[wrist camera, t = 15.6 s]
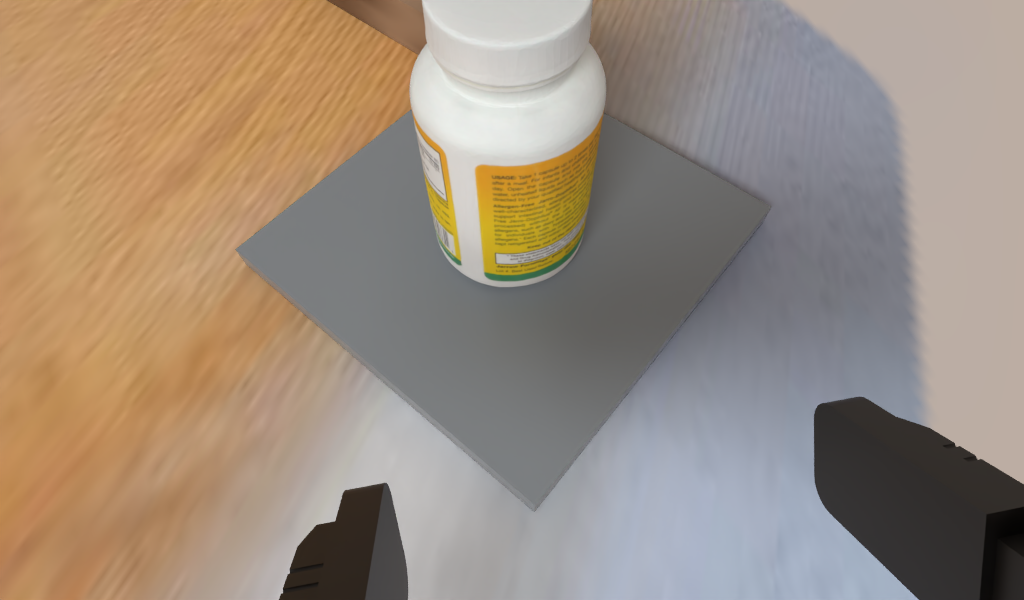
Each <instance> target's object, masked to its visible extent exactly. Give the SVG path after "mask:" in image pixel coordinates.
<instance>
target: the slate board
mask: <svg viewBox="0 0 1024 600" xmlns="http://www.w3.org/2000/svg"><path fill="white" fill-rule="evenodd" d="M770 208H771V206H769V205H767V204H766V203H764V202H762V201H760V200H759V199H757V198H755V197H753V196H751V195H750V194H748V193H746V192H744V191H742V190H741V189H739V188H737V187H735V186H734V185H732V184H730V183H728V182H726V181H725V180H723V179H721V178H719V177H718V176H716V175H714V174H712V173H710V172H709V171H707V170H705V169H703V168H702V167H700V166H698V165H696V164H694V163H693V162H691V161H689V160H687V159H686V158H684V157H682V156H680V155H678V154H677V153H675V152H673V151H671V150H670V149H668V148H666V147H664V146H662V145H661V144H659V143H657V142H655V141H653V140H652V139H650V138H648V137H646V136H645V135H643V134H641V133H639V132H637V131H636V130H634V129H632V128H630V127H629V126H627V125H625V124H623V123H621V122H620V121H618V120H616V119H614V118H613V117H611V116H609V115H607V114H605V113H603V119H602V126H601V132H600V138H599V144H598V150H597V157H596V162H595V168H594V175H593V181H592V187H591V194H590V200H589V206H588V212H587V216H586V223H585V228H584V233H583V238H582V241H581V244H580V246H579V249H578V250H577V252H576V254H575V256H574V257H573V258H572V260H571V261H570V262H569V263H568V264H567V265H566V266H565V267H564V268H563V269H562V270H560V271H559V272H558V273H556V274H555V275H554V276H552V277H550V278H548V279H546V280H543V281H540V282H538V283H534V284H530V285H525V286H517V287H495V286H490V285H486V284H483V283H479V282H477V281H475V280H473V279H471V278H469V277H467V276H465V275H464V274H462V273H461V272H460V271H459V270H457V269H456V268H455V267H454V266H453V265H452V264H451V263H450V262H449V261H448V259H447V258H446V256H445V255H444V253H443V251H442V249H441V247H440V245H439V242H438V239H437V235H436V231H435V226H434V222H433V217H432V211H431V207H430V202H429V196H428V191H427V186H426V181H425V175H424V170H423V165H422V160H421V156H420V151H419V145H418V140H417V134H416V130H415V124H414V119H413V114H412V109H411V110H410V111H409V112H407V113H406V114H405V115H404V116H402V117H401V118H400V119H399V120H397V121H396V122H395V123H394V124H392V125H391V126H390V127H389V128H387V129H386V130H385V131H384V132H382V133H381V134H380V135H378V136H377V137H376V138H375V139H373V140H372V141H371V142H370V143H368V144H367V145H366V146H365V147H363V148H362V149H361V150H360V151H358V152H357V153H356V154H355V155H353V156H352V157H351V158H350V159H348V160H347V161H346V162H345V163H343V164H342V165H341V166H340V167H338V168H337V169H336V170H335V171H333V172H332V173H331V174H330V175H328V176H327V177H326V178H325V179H323V180H322V181H321V182H320V183H318V184H317V185H316V186H315V187H313V188H312V189H311V190H309V191H308V192H307V193H306V194H304V195H303V196H302V197H301V198H299V199H298V200H297V201H296V202H294V203H293V204H292V205H291V206H289V207H288V208H287V209H286V210H284V211H283V212H282V213H281V214H279V215H278V216H277V217H276V218H274V219H273V220H272V221H271V222H269V223H268V224H267V225H266V226H264V227H263V228H262V229H261V230H259V231H258V232H257V233H256V234H254V235H253V236H252V237H251V238H249V239H248V240H247V241H246V242H244V243H243V244H242V245H240V246H239V247H238V248H237V249H235V250H236V251H237V252H238V254H239V255H240V257H241V258H242V259H243V261H244V262H245V263H246V265H248V266H249V267H250V268H251V269H252V270H253V271H255V272H256V273H257V274H258V275H259V276H260V277H262V278H263V279H264V280H265V281H266V282H267V283H269V284H270V285H271V286H272V287H273V288H274V289H276V290H277V291H278V292H279V293H280V294H281V295H283V296H284V297H285V298H286V299H287V300H288V301H290V302H291V303H292V304H293V305H294V306H295V307H296V308H298V309H299V310H300V311H301V312H302V313H303V314H305V315H306V316H307V317H308V318H309V319H310V320H312V321H313V322H314V323H315V324H316V325H317V326H319V327H320V328H321V329H322V330H323V331H324V332H326V333H327V334H328V335H329V336H330V337H331V338H333V339H334V340H335V341H336V342H337V343H338V344H340V345H341V346H342V347H343V348H344V349H345V350H347V351H348V352H349V353H350V354H351V355H352V356H354V357H355V358H356V359H357V360H358V361H359V362H361V363H362V364H363V365H364V366H365V367H366V368H368V369H369V370H370V371H371V372H372V373H373V374H375V375H376V376H377V377H378V378H379V379H380V380H382V381H383V382H384V383H385V384H386V385H387V386H388V387H390V388H391V389H392V390H393V391H394V392H395V393H397V394H398V395H399V396H400V397H401V398H402V399H404V400H405V401H406V402H407V403H408V404H409V405H411V406H412V407H413V408H414V409H415V410H416V411H418V412H419V413H420V414H421V415H422V416H423V417H425V418H426V419H427V420H428V421H429V422H430V423H432V424H433V425H434V426H435V427H436V428H437V429H439V430H440V431H441V432H442V433H443V434H444V435H446V436H447V437H448V438H449V439H450V440H451V441H453V442H454V443H455V444H456V445H457V446H458V447H460V448H461V449H462V450H463V451H464V452H465V453H467V454H468V455H469V456H470V457H471V458H472V459H474V460H475V461H476V462H477V463H478V464H479V465H480V466H482V467H483V468H484V469H485V470H486V471H487V472H489V473H490V474H491V475H492V476H493V477H494V478H496V479H497V480H498V481H499V482H500V483H501V484H503V485H504V486H505V487H506V488H507V489H508V490H510V491H511V492H512V493H513V494H514V495H515V496H517V497H518V498H519V499H520V500H521V501H522V502H524V503H525V504H526V505H527V506H528V507H529V508H531V509H532V510H533V511H534V512H535V511H536V509H537V508H538V507H539V506H540V504H541V503H542V502H543V501H544V499H545V498H546V497H547V495H548V494H549V493H550V492H551V490H552V489H553V488H554V487H555V485H556V484H557V483H558V482H559V480H560V479H561V478H562V476H563V475H564V474H565V473H566V471H567V470H568V469H569V468H570V466H571V465H572V464H573V462H574V461H575V460H576V459H577V457H578V456H579V455H580V454H581V452H582V451H583V450H584V448H585V447H586V446H587V445H588V443H589V442H590V441H591V440H592V438H593V437H594V436H595V435H596V433H597V432H598V431H599V429H600V428H601V427H602V426H603V424H604V423H605V422H606V421H607V419H608V418H609V417H610V415H611V414H612V413H613V412H614V410H615V409H616V408H617V407H618V405H619V404H620V403H621V402H622V400H623V399H624V398H625V396H626V395H627V394H628V393H629V391H630V390H631V389H632V388H633V386H634V385H635V384H636V382H637V381H638V380H639V379H640V377H641V376H642V375H643V374H644V372H645V371H646V370H647V368H648V367H649V366H650V365H651V363H652V362H653V361H654V360H655V358H656V357H657V356H658V355H659V353H660V352H661V351H662V349H663V348H664V347H665V346H666V344H667V343H668V342H669V341H670V339H671V338H672V337H673V335H674V334H675V333H676V332H677V330H678V329H679V328H680V327H681V325H682V324H683V323H684V321H685V320H686V319H687V318H688V316H689V315H690V314H691V313H692V311H693V310H694V309H695V308H696V306H697V305H698V304H699V302H700V301H701V300H702V299H703V297H704V296H705V295H706V294H707V292H708V291H709V290H710V288H711V287H712V286H713V285H714V283H715V282H716V281H717V280H718V278H719V277H720V276H721V274H722V273H723V272H724V271H725V269H726V268H727V267H728V266H729V264H730V263H731V262H732V261H733V259H734V258H735V257H736V255H737V254H738V253H739V252H740V250H741V249H742V248H743V247H744V245H745V244H746V243H747V241H748V240H749V239H750V238H751V236H752V235H753V234H754V233H755V231H756V230H757V229H758V227H759V226H760V225H761V224H762V222H763V221H764V219H765V217H766V215H767V214H768V212H769V210H770Z"/></svg>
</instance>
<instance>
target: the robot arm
mask: <svg viewBox="0 0 1024 600" xmlns="http://www.w3.org/2000/svg"><path fill="white" fill-rule="evenodd" d="M814 476H815V485H816V489H817V492H818V495H819V497H820V499H821V501H822V503H823V505H824V506H825V508H826V509H827V510H828V512H829V513H830V514H831V515H832V516H833V517H834V518H835V519H836V520H837V521H838V522H839V523H841V524H842V525H843V526H844V527H845V528H846V529H847V530H848V531H849V532H850V533H851V534H852V535H853V536H854V537H855V538H856V539H857V540H858V541H859V542H860V543H861V544H862V545H863V546H864V547H865V548H866V549H867V550H868V551H869V552H870V553H871V554H872V555H873V556H874V557H875V558H877V559H878V560H879V561H880V562H881V563H882V564H883V565H884V566H885V567H886V568H887V569H888V570H889V571H890V572H891V573H892V574H893V575H894V576H895V577H896V578H897V579H898V580H899V581H900V582H901V583H902V584H903V585H904V586H905V587H906V588H907V589H908V590H909V591H910V592H912V593H913V594H914V595H915V596H916V597H917V598H918V599H919V600H1024V484H1022V483H1020V482H1019V481H1017V480H1015V479H1014V478H1012V477H1010V476H1009V475H1007V474H1005V473H1004V472H1002V471H1000V470H999V469H997V468H995V467H994V466H992V465H990V464H989V463H987V462H985V461H984V460H982V459H980V460H977V458H976V456H975V455H974V454H972V453H970V452H968V451H967V450H965V449H964V448H962V447H960V446H959V447H956V446H955V443H954V442H952V441H950V440H949V439H947V438H945V437H943V436H942V435H940V434H939V433H937V432H935V431H934V430H932V429H930V428H928V427H925V426H922V425H919V424H916V423H913V422H910V421H907V420H904V419H901V418H898V417H895V416H894V415H892V414H890V413H889V412H887V411H886V410H884V409H882V408H881V407H879V406H877V405H876V404H874V403H873V402H871V401H869V400H868V399H866V398H864V397H854V398H849V399H844V400H838V401H833V402H827V403H822V404H820V405H818V406H817V408H816V410H815V414H814ZM279 600H408V576H407V567H406V560H405V555H404V550H403V546H402V541H401V537H400V532H399V528H398V523H397V519H396V514H395V510H394V505H393V501H392V496H391V492H390V489H389V486H388V484H387V483H382V484H377V485H371V486H366V487H361V488H355V489H350V490H345V491H344V493H343V496H342V499H341V503H340V507H339V510H338V514H337V517H336V521H335V522H330V523H324V524H319V525H316V526H315V527H314V529H313V530H312V531H311V532H310V533H309V534H308V535H307V537H306V538H305V539H304V540H303V541H302V542H301V543H300V545H299V546H298V547H297V550H296V553H295V556H294V559H293V561H292V564H291V567H290V574H288V576H287V579H286V581H285V584H284V587H283V594H281V596H280V599H279Z"/></svg>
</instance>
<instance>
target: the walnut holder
mask: <svg viewBox="0 0 1024 600" xmlns="http://www.w3.org/2000/svg"><path fill="white" fill-rule="evenodd" d="M328 1H329V2H331V3H333V4H334V5H336V6H338V7H340V8H341V9H343V10H345V11H346V12H348V13H350V14H351V15H353V16H355V17H356V18H358V19H360V20H361V21H363V22H365V23H366V24H368V25H370V26H371V27H373V28H375V29H376V30H378V31H380V32H381V33H383V34H385V35H387V36H388V37H390V38H392V39H393V40H395V41H397V42H398V43H400V44H402V45H403V46H405V47H407V48H408V49H410V50H412V51H413V52H415V53H417V54H418V55H419V54H420V52H421V51H422V49H423V48H424V46H425V45H426V44H427V41H426V35H425V21H424V13H423V6H422V0H328Z"/></svg>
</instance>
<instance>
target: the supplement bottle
mask: <svg viewBox="0 0 1024 600" xmlns="http://www.w3.org/2000/svg"><path fill="white" fill-rule="evenodd" d="M592 2H593V0H422V6H423V13H424V21H425V35H426V41H427V44H426V45H425V46H424V48H423V49H422V51H421V52H420V54H419V56H418V58H417V60H416V62H415V64H414V67H413V70H412V74H411V80H410V101H411V108H412V114H413V119H414V124H415V130H416V134H417V140H418V145H419V151H420V156H421V160H422V165H423V170H424V175H425V181H426V186H427V191H428V196H429V202H430V207H431V211H432V217H433V222H434V226H435V231H436V235H437V239H438V242H439V245H440V247H441V249H442V251H443V253H444V255H445V256H446V258H447V259H448V261H449V262H450V263H451V264H452V265H453V266H454V267H455V268H456V269H457V270H459V271H460V272H461V273H462V274H464V275H465V276H467V277H469V278H471V279H473V280H475V281H477V282H479V283H483V284H486V285H490V286H495V287H517V286H525V285H530V284H534V283H538V282H540V281H543V280H546V279H548V278H550V277H552V276H554V275H555V274H556V273H558V272H559V271H560V270H562V269H563V268H564V267H565V266H566V265H567V264H568V263H569V262H570V261H571V260H572V258H573V257H574V256H575V254H576V252H577V250H578V249H579V246H580V244H581V241H582V238H583V233H584V228H585V223H586V216H587V212H588V206H589V200H590V194H591V187H592V181H593V175H594V168H595V162H596V157H597V150H598V144H599V138H600V132H601V126H602V119H603V113H604V107H605V101H606V78H605V73H604V69H603V66H602V63H601V60H600V58H599V56H598V54H597V53H596V51H595V50H594V48H593V47H592V45H591V44H590V43H589V38H590V34H591V16H592Z"/></svg>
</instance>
